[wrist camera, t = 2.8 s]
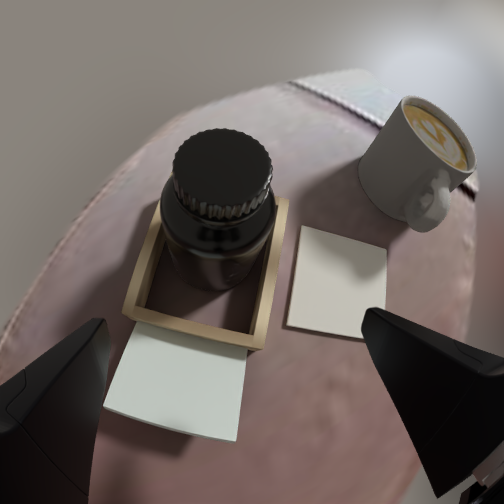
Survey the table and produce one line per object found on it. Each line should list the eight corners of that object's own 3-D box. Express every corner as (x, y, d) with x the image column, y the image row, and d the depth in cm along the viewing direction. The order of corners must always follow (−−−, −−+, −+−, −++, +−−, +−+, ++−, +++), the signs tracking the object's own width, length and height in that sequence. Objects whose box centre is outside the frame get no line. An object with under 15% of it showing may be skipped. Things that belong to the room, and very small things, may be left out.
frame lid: (228, 429, 19) (235, 445, 15) (121, 401, 18) (102, 409, 14) (247, 341, 22) (258, 335, 17) (142, 314, 21) (127, 302, 17)
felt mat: (379, 341, 23) (382, 340, 23) (285, 325, 23) (287, 324, 22) (384, 250, 27) (386, 249, 26) (300, 227, 26) (302, 225, 26)
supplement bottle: (155, 259, 23) (119, 169, 12) (207, 203, 26) (213, 97, 15) (220, 311, 22) (237, 258, 11) (269, 248, 25) (318, 159, 14)
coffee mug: (363, 139, 33) (400, 82, 23) (425, 176, 33) (469, 130, 23) (344, 221, 27) (398, 159, 18) (421, 262, 27) (486, 221, 18)
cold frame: (255, 351, 22) (263, 349, 19) (131, 319, 21) (121, 312, 18) (280, 217, 26) (289, 199, 24) (174, 191, 26) (171, 171, 23)
